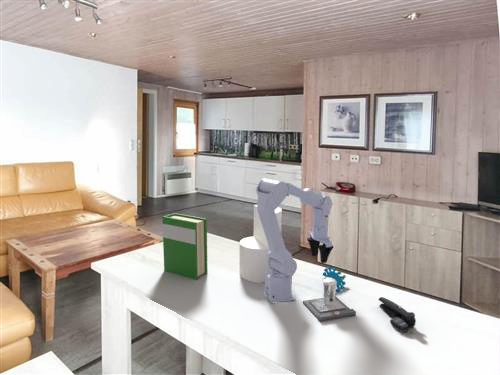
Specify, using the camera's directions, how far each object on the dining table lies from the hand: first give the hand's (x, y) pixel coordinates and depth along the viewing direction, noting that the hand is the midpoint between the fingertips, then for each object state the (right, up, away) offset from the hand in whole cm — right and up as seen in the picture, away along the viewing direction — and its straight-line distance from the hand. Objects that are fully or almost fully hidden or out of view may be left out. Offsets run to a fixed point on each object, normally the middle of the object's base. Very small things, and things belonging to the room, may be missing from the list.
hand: (319, 259), depth 140 cm
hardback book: (-54, -8, +12) cm, 56 cm away
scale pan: (-1, -13, -17) cm, 21 cm away
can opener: (+20, -15, -23) cm, 34 cm away
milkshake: (0, -12, -17) cm, 21 cm away
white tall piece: (-23, -9, +11) cm, 27 cm away
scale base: (0, -14, -18) cm, 22 cm away
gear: (+6, -11, -1) cm, 13 cm away
